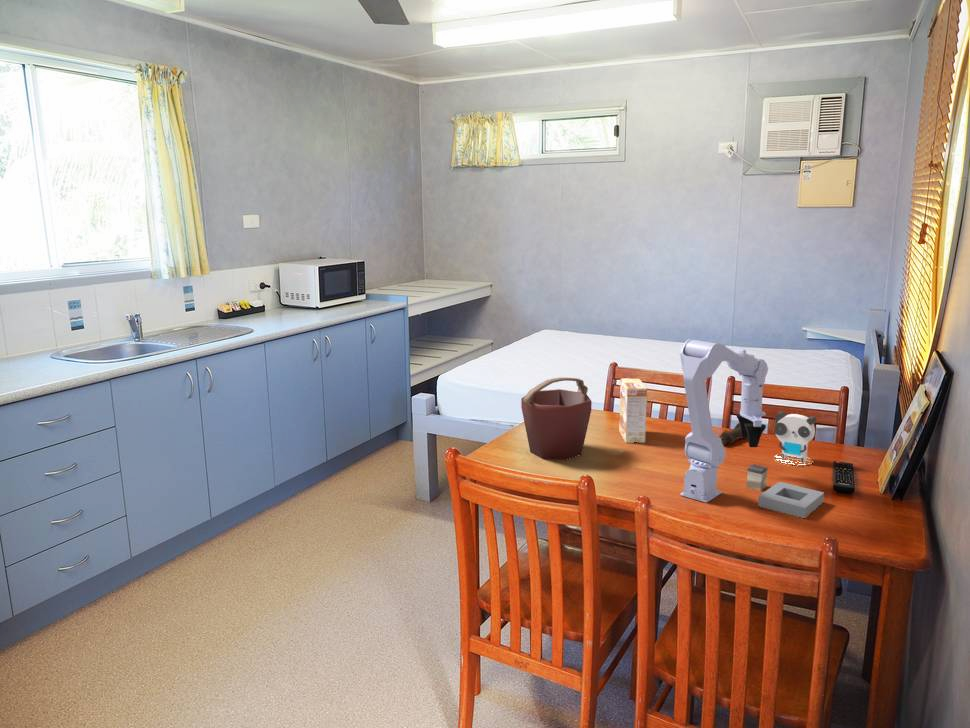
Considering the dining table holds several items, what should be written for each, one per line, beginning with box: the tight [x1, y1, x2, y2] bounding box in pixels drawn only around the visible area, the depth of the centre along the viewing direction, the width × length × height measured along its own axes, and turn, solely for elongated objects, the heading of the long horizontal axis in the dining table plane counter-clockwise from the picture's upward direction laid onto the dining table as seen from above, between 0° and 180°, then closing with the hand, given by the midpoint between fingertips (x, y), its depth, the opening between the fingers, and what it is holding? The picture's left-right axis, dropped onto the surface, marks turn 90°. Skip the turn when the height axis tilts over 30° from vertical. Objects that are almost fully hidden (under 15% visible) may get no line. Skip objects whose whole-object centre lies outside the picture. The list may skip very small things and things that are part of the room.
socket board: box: [757, 481, 825, 519], centre depth 190 cm, size 14×12×3 cm
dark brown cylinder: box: [718, 422, 742, 446], centre depth 243 cm, size 6×5×15 cm
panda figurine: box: [774, 411, 817, 467], centre depth 223 cm, size 12×11×15 cm
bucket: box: [520, 376, 593, 461], centre depth 231 cm, size 24×22×25 cm
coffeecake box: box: [618, 377, 648, 444], centre depth 248 cm, size 15×7×20 cm, turn 178°
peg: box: [746, 463, 768, 492], centre depth 202 cm, size 4×4×6 cm
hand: (749, 442), depth 208 cm, fingers open, 7 cm apart
